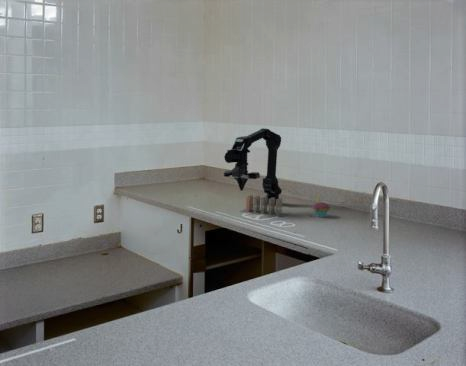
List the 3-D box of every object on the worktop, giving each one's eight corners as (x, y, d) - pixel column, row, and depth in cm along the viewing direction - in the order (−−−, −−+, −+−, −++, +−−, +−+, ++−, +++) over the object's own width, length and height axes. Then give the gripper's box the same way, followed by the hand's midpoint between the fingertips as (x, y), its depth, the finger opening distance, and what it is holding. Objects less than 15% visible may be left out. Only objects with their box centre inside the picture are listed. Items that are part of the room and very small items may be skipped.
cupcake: (319, 218, 279) (320, 195, 277) (309, 215, 287) (310, 192, 285) (332, 217, 283) (333, 194, 281) (322, 213, 290) (323, 191, 289)
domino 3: (260, 213, 289) (261, 198, 288) (264, 211, 293) (264, 196, 292) (263, 213, 288) (263, 198, 287) (267, 211, 293) (267, 196, 291)
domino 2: (253, 212, 291) (253, 197, 289) (257, 210, 295) (257, 195, 294) (256, 212, 290) (256, 197, 289) (260, 211, 294) (260, 196, 293)
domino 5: (275, 215, 285) (276, 199, 284) (279, 213, 290) (279, 198, 288) (278, 215, 284) (278, 200, 283) (282, 213, 289) (282, 198, 288)
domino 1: (246, 211, 292) (246, 196, 291) (250, 209, 297) (250, 195, 296) (249, 212, 292) (249, 197, 290) (252, 210, 296) (253, 195, 295)
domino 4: (268, 214, 287) (268, 199, 286) (272, 212, 291) (272, 197, 290) (271, 214, 286) (271, 199, 285) (274, 212, 291) (275, 197, 289)
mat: (238, 212, 292) (238, 211, 292) (246, 209, 300) (246, 208, 300) (283, 217, 281) (283, 216, 281) (289, 214, 289) (289, 213, 289)
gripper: (219, 162, 289) (219, 191, 292) (251, 164, 281) (251, 194, 284) (228, 159, 299) (228, 188, 302) (260, 161, 291) (260, 191, 294)
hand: (241, 190), depth 295 cm, fingers closed
